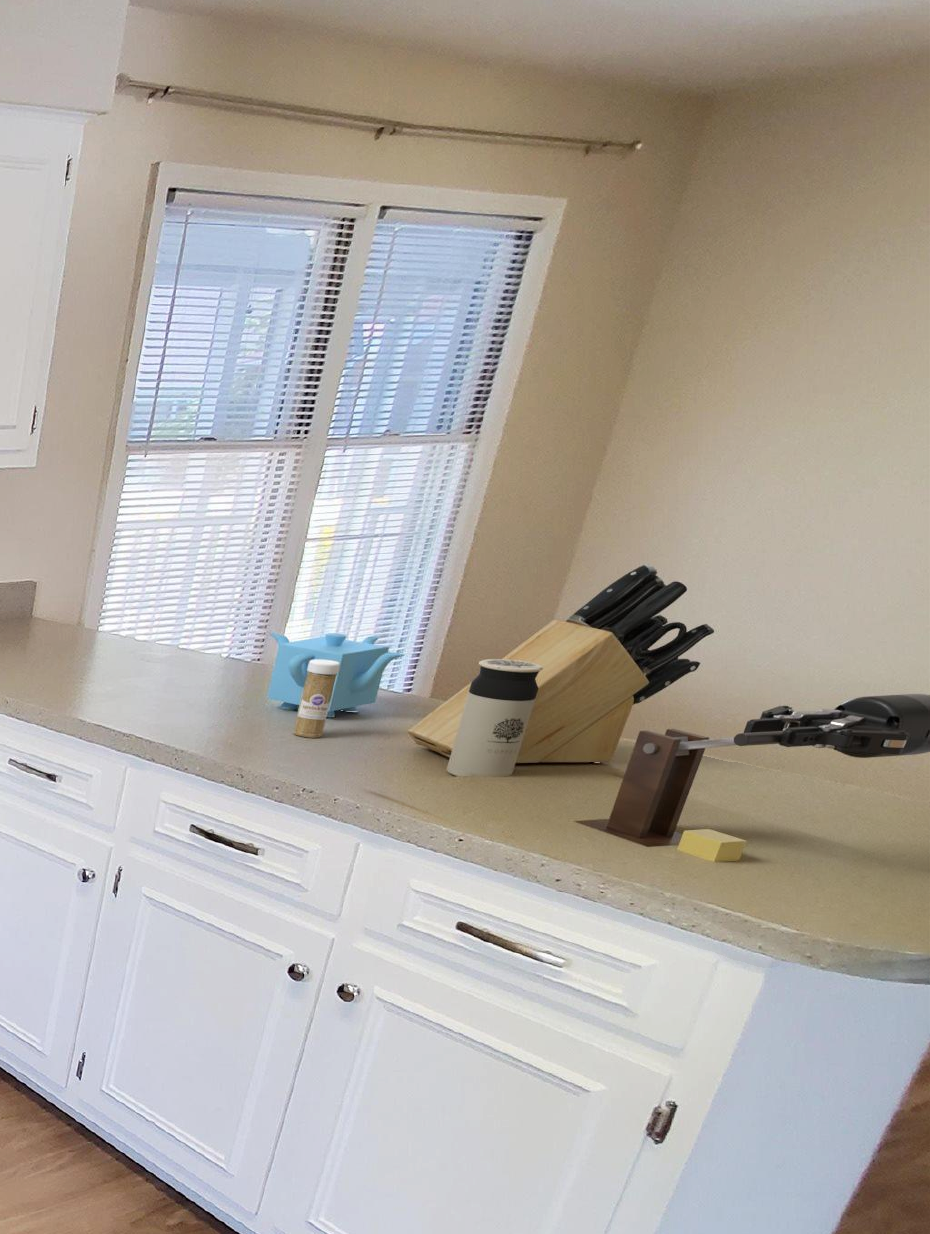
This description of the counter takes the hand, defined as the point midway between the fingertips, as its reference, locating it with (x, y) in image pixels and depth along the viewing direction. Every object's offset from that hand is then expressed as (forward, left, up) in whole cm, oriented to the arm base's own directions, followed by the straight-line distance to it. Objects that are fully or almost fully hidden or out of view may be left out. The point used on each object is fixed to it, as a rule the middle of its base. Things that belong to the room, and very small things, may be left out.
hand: (767, 733), depth 135 cm
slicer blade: (+4, +1, -4) cm, 5 cm away
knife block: (+45, -21, -18) cm, 53 cm away
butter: (+1, +1, -17) cm, 17 cm away
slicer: (+9, +1, -17) cm, 20 cm away
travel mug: (+37, -3, -18) cm, 41 cm away
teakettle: (+79, -11, -18) cm, 82 cm away
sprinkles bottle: (+63, +5, -18) cm, 66 cm away
